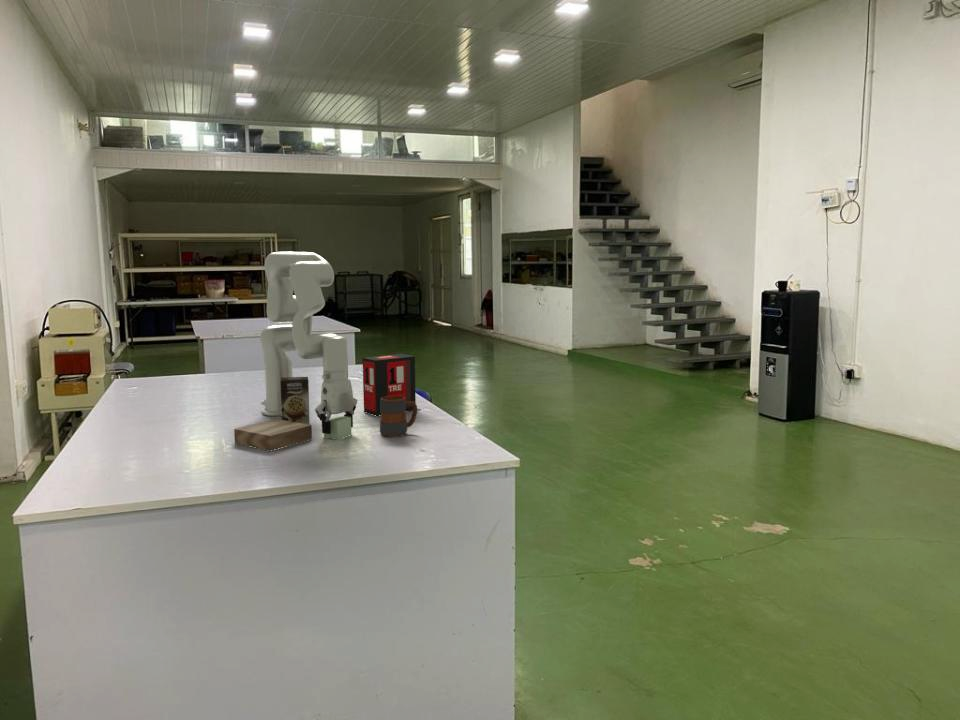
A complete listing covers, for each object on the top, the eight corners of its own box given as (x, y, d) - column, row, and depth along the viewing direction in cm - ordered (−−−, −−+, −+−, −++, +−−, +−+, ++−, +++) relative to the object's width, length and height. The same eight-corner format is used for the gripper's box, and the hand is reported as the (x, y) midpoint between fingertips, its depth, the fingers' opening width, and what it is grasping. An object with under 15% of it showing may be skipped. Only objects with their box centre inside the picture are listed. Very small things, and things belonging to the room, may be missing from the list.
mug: (420, 435, 221) (419, 399, 219) (381, 438, 218) (380, 401, 216) (415, 429, 229) (414, 394, 227) (378, 431, 226) (377, 396, 224)
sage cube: (323, 437, 219) (323, 418, 218) (337, 433, 224) (336, 415, 223) (337, 440, 216) (337, 421, 215) (351, 436, 221) (350, 417, 220)
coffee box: (281, 428, 230) (279, 380, 228) (281, 424, 236) (279, 377, 234) (310, 427, 233) (308, 378, 230) (309, 422, 239) (307, 375, 236)
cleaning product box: (402, 406, 265) (401, 353, 262) (415, 410, 258) (414, 356, 255) (363, 412, 254) (362, 357, 251) (376, 416, 248) (375, 360, 245)
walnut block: (234, 445, 212) (234, 428, 211) (276, 434, 225) (275, 418, 224) (271, 452, 203) (270, 435, 202) (312, 440, 216) (311, 425, 216)
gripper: (324, 381, 208) (326, 437, 210) (364, 373, 222) (365, 426, 225) (306, 379, 212) (308, 434, 214) (346, 371, 226) (348, 423, 229)
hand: (337, 430), depth 220 cm, fingers open, 9 cm apart
